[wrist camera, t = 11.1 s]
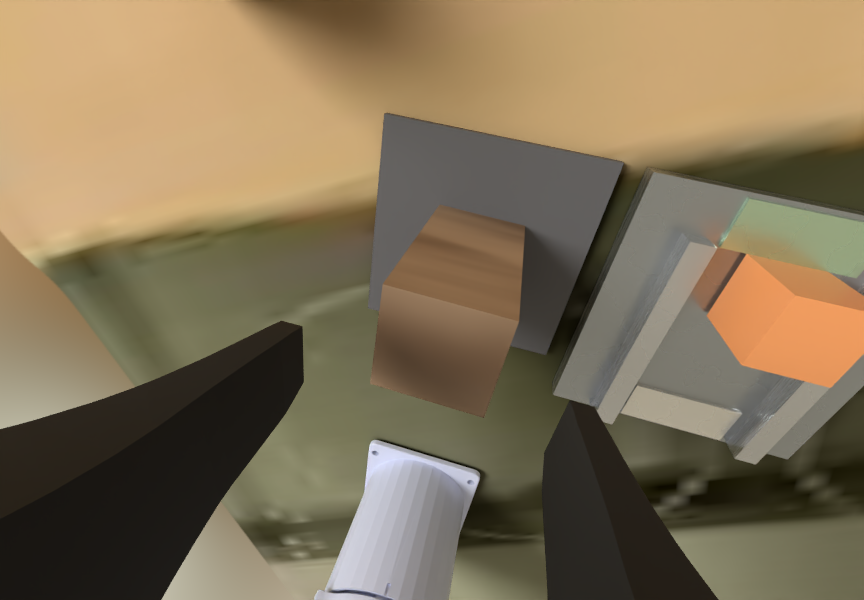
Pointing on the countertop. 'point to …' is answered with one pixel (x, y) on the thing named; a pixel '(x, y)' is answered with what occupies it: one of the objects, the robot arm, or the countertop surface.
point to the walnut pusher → (451, 310)
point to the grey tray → (705, 314)
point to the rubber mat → (493, 207)
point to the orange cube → (790, 320)
